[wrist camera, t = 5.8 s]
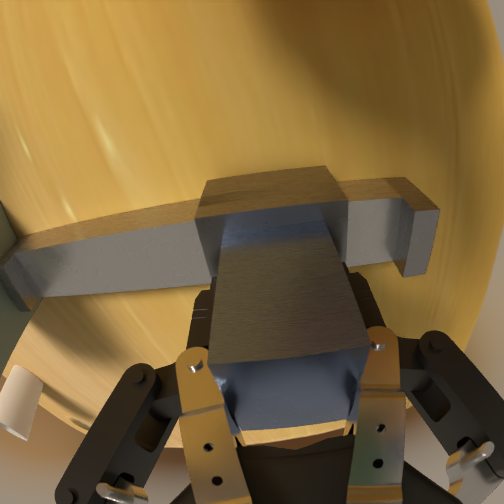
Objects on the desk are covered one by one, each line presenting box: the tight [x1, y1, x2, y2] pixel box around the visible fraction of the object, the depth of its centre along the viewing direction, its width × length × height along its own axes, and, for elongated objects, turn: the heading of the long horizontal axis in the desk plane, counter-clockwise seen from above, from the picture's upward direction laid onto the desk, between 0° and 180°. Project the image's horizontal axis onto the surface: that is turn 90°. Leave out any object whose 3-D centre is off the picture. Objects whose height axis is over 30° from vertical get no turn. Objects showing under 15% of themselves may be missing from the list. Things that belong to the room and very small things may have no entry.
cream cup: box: [0, 365, 44, 441], centre depth 27 cm, size 7×7×10 cm
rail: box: [0, 177, 440, 312], centre depth 16 cm, size 4×27×4 cm, turn 98°
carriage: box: [194, 166, 371, 431], centre depth 12 cm, size 7×6×10 cm
